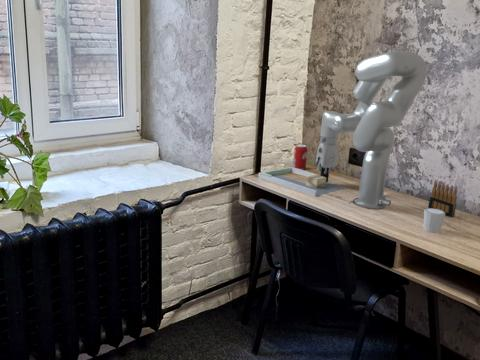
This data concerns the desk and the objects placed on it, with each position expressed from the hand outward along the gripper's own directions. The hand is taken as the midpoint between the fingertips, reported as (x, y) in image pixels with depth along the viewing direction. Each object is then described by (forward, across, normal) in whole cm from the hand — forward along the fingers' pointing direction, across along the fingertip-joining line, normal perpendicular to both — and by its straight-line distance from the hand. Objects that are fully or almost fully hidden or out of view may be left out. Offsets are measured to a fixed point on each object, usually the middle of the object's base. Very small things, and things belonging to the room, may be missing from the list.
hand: (323, 181), depth 215 cm
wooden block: (+1, -5, 0) cm, 5 cm away
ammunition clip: (+3, +14, -47) cm, 49 cm away
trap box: (+3, -7, +7) cm, 10 cm away
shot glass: (+3, -8, -54) cm, 55 cm away
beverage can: (+3, +15, +27) cm, 31 cm away
